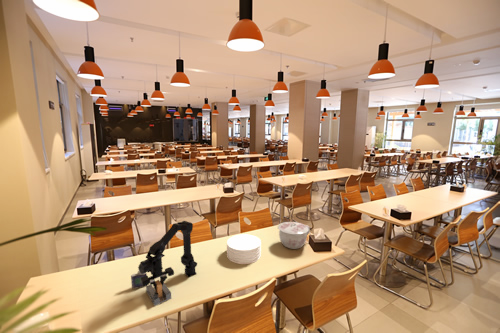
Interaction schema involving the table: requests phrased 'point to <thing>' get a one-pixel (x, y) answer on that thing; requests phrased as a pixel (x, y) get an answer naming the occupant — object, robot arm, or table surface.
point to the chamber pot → (293, 234)
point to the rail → (154, 296)
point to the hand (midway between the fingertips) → (158, 288)
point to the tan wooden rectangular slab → (158, 288)
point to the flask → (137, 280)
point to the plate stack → (243, 249)
